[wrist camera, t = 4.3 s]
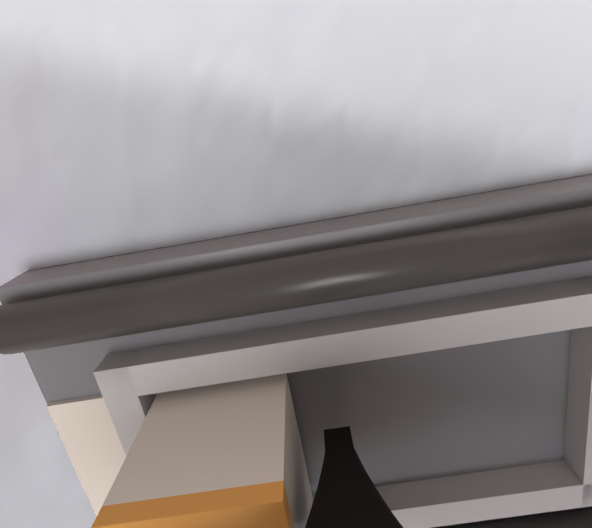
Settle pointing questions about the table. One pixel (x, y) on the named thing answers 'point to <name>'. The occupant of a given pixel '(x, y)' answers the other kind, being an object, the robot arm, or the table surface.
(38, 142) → the table surface
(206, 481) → the orange-faced white block
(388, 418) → the panel
